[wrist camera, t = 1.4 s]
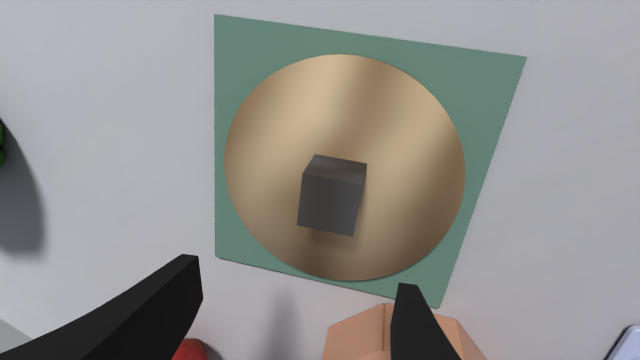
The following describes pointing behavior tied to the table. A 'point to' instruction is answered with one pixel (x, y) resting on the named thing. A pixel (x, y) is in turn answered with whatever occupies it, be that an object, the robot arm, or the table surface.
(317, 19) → the table surface
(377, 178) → the lid
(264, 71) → the mat
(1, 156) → the bell pepper
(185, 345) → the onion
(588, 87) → the table surface
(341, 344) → the bowl
